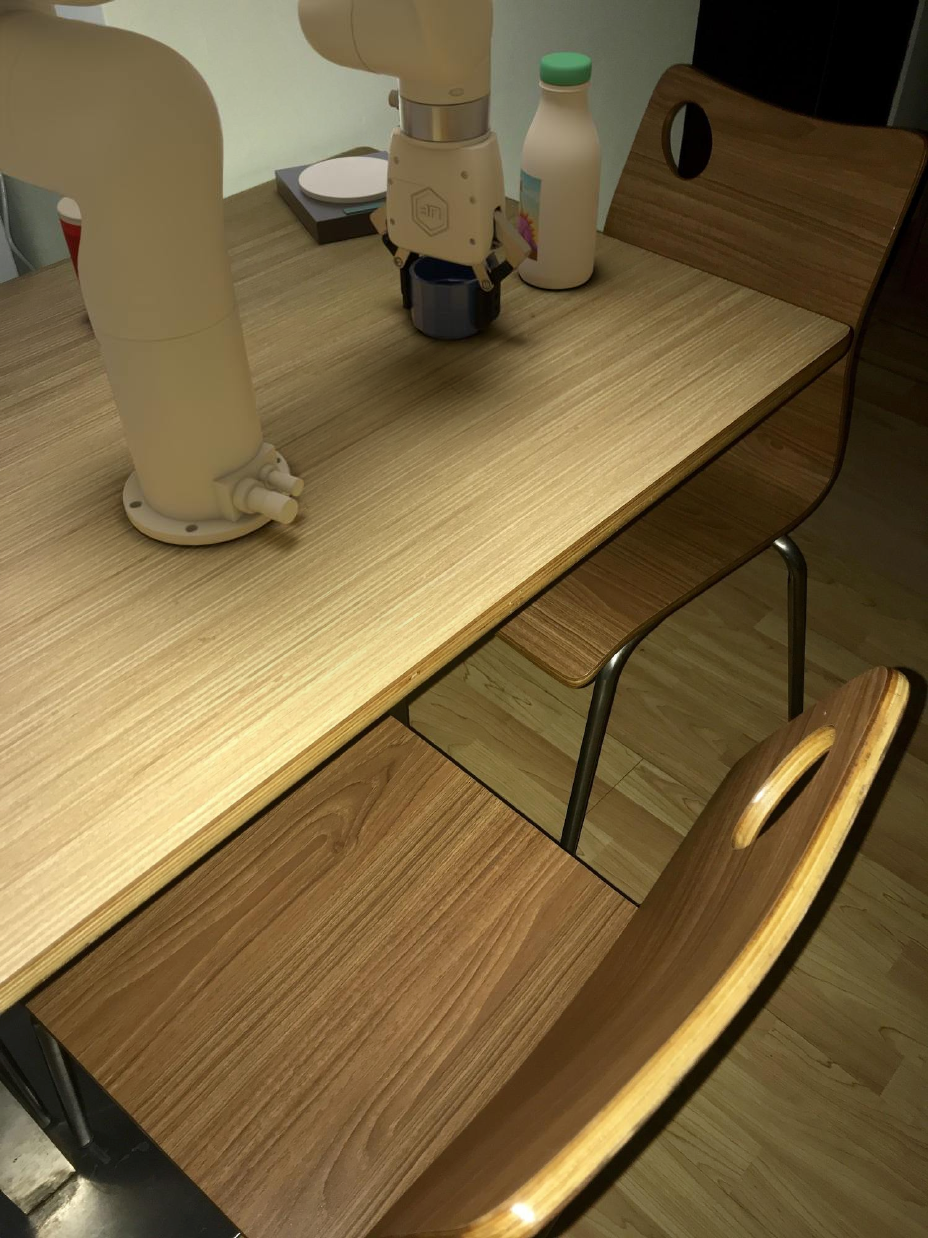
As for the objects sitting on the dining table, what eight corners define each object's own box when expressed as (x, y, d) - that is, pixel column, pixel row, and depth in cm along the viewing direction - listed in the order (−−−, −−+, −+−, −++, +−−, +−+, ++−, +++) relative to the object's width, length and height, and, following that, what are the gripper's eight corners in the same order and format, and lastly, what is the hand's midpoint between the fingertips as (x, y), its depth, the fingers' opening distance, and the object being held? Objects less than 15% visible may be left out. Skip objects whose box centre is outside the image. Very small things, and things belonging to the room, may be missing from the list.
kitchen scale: (438, 220, 111) (437, 191, 109) (319, 244, 107) (315, 214, 105) (387, 171, 122) (385, 144, 120) (277, 191, 118) (273, 163, 116)
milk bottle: (598, 261, 104) (616, 47, 89) (585, 295, 98) (601, 74, 84) (526, 253, 105) (533, 42, 91) (509, 286, 100) (513, 68, 86)
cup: (501, 316, 96) (502, 260, 92) (463, 349, 91) (462, 292, 87) (438, 298, 98) (436, 244, 94) (398, 329, 94) (394, 274, 90)
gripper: (332, 110, 83) (352, 308, 95) (515, 147, 76) (511, 354, 89) (383, 85, 87) (396, 277, 100) (560, 117, 81) (550, 318, 93)
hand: (450, 312), depth 94 cm, fingers closed on cup, 7 cm apart
